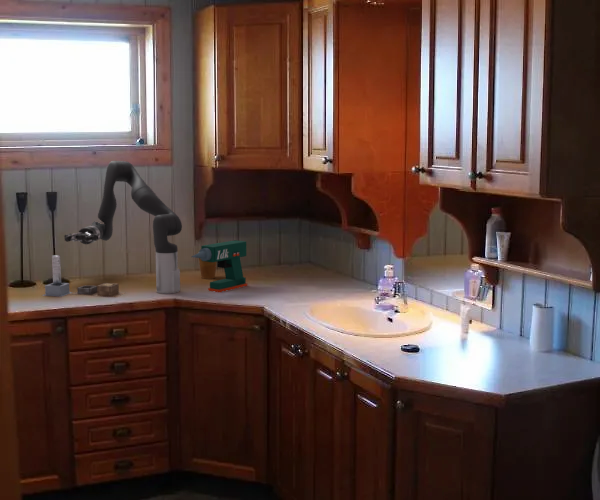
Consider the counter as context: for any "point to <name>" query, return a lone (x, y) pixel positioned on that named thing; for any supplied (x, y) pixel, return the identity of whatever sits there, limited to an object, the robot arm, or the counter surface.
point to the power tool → (225, 263)
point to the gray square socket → (57, 290)
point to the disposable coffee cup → (207, 269)
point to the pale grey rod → (56, 270)
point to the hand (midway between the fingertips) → (76, 239)
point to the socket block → (99, 290)
